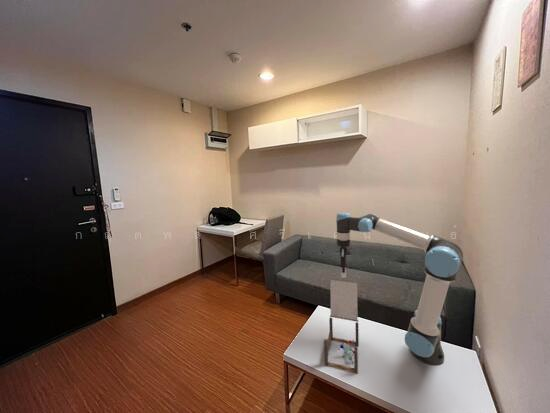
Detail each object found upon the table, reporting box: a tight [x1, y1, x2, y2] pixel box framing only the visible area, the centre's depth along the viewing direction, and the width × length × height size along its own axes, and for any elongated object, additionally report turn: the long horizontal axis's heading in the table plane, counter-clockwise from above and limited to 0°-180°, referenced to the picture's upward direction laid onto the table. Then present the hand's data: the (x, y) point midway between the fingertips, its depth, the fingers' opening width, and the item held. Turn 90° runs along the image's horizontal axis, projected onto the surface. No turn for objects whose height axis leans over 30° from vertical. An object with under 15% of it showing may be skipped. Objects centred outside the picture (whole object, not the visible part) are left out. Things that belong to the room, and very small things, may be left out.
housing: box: [323, 317, 360, 375], centre depth 120 cm, size 16×20×14 cm
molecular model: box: [337, 339, 355, 364], centre depth 119 cm, size 12×10×10 cm
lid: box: [329, 279, 359, 323], centre depth 130 cm, size 16×22×1 cm
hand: (343, 276), depth 134 cm, fingers closed
